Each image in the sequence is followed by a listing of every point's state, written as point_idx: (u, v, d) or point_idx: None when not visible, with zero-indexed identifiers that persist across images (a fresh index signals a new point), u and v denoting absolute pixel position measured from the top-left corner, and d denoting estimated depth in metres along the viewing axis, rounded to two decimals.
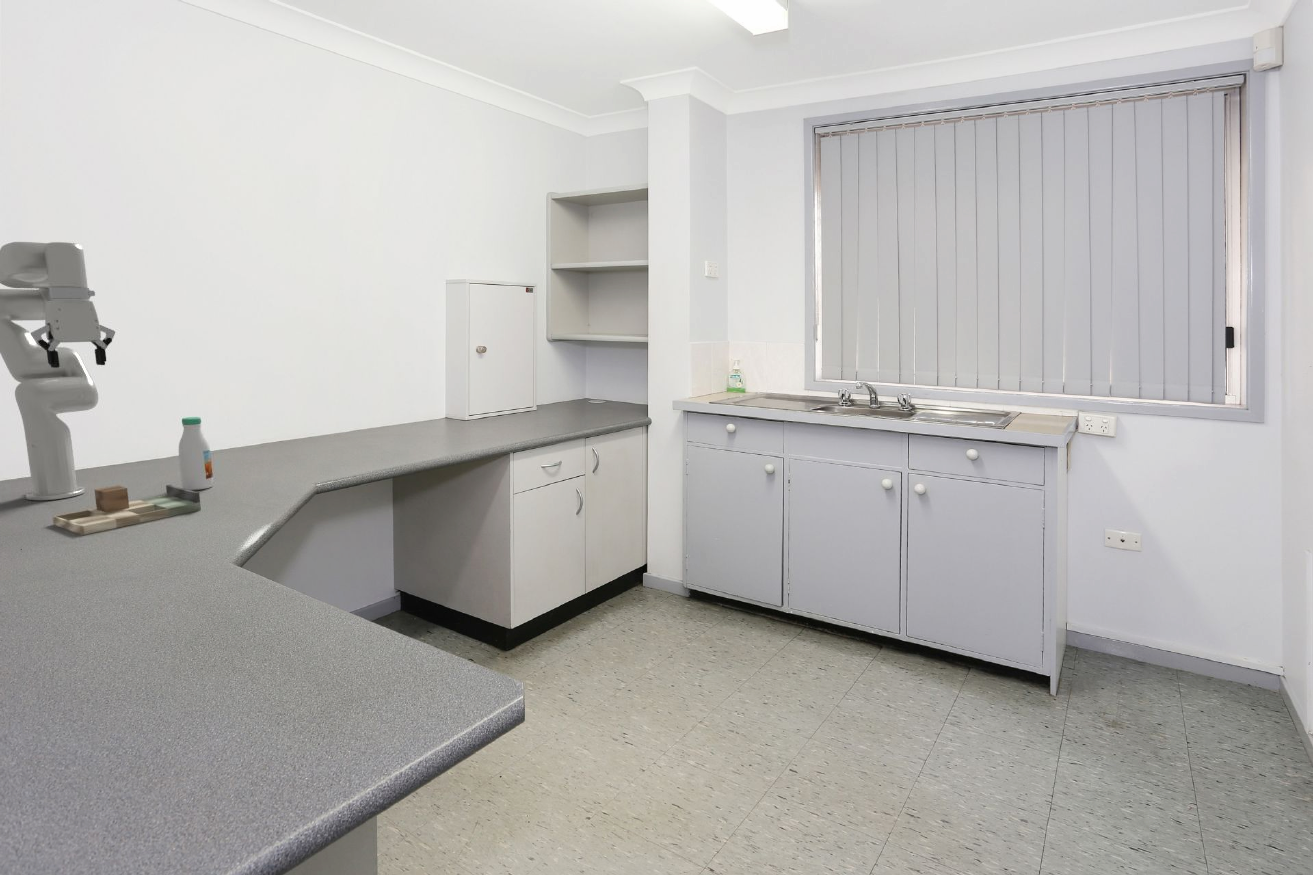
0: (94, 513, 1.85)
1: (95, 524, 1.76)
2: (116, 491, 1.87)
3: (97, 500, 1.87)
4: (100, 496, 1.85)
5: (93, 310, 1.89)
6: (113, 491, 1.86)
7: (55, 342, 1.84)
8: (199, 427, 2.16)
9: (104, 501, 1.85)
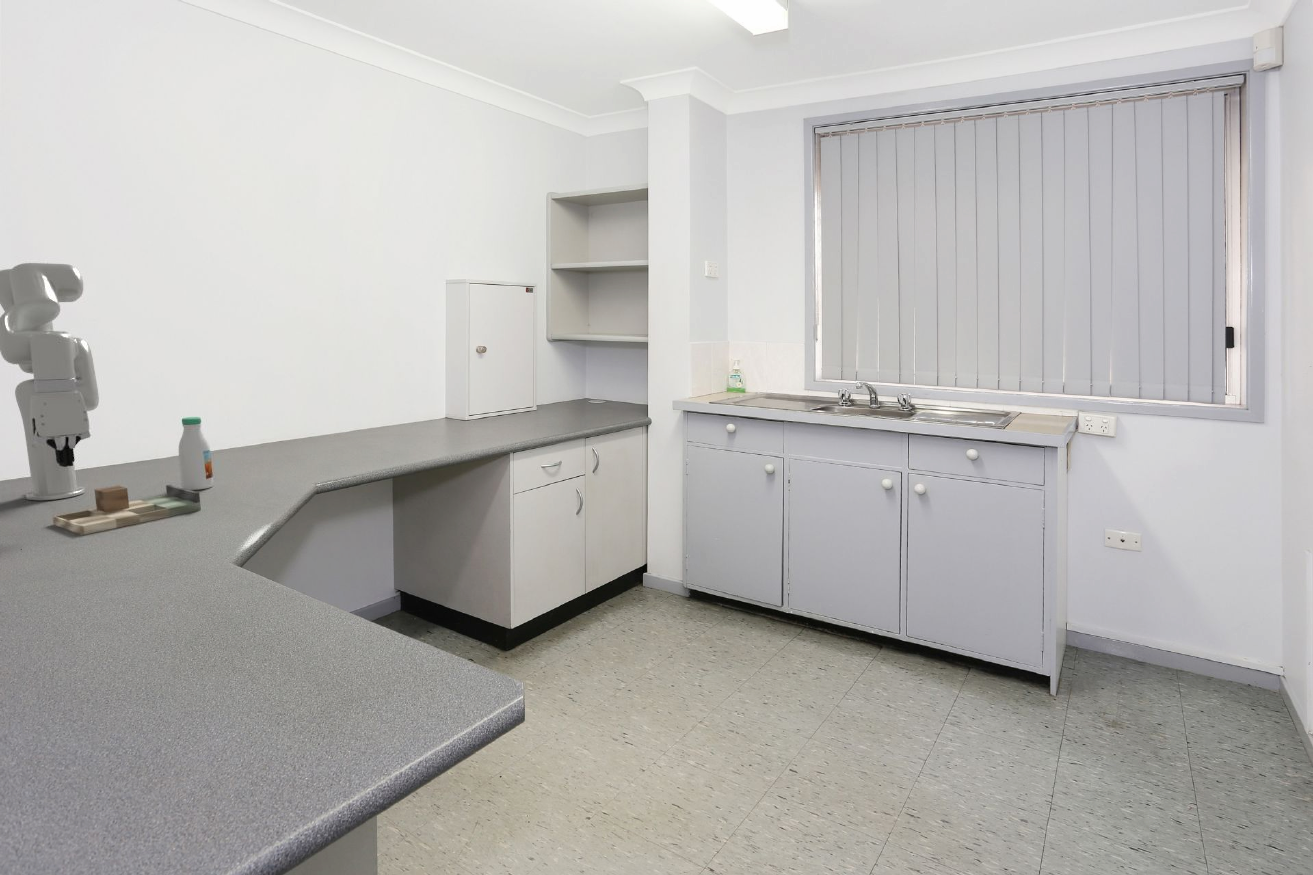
0: (94, 513, 1.85)
1: (95, 524, 1.76)
2: (116, 491, 1.87)
3: (97, 500, 1.87)
4: (100, 496, 1.85)
5: (81, 401, 1.79)
6: (113, 491, 1.86)
7: (57, 440, 1.76)
8: (199, 427, 2.16)
9: (104, 501, 1.85)
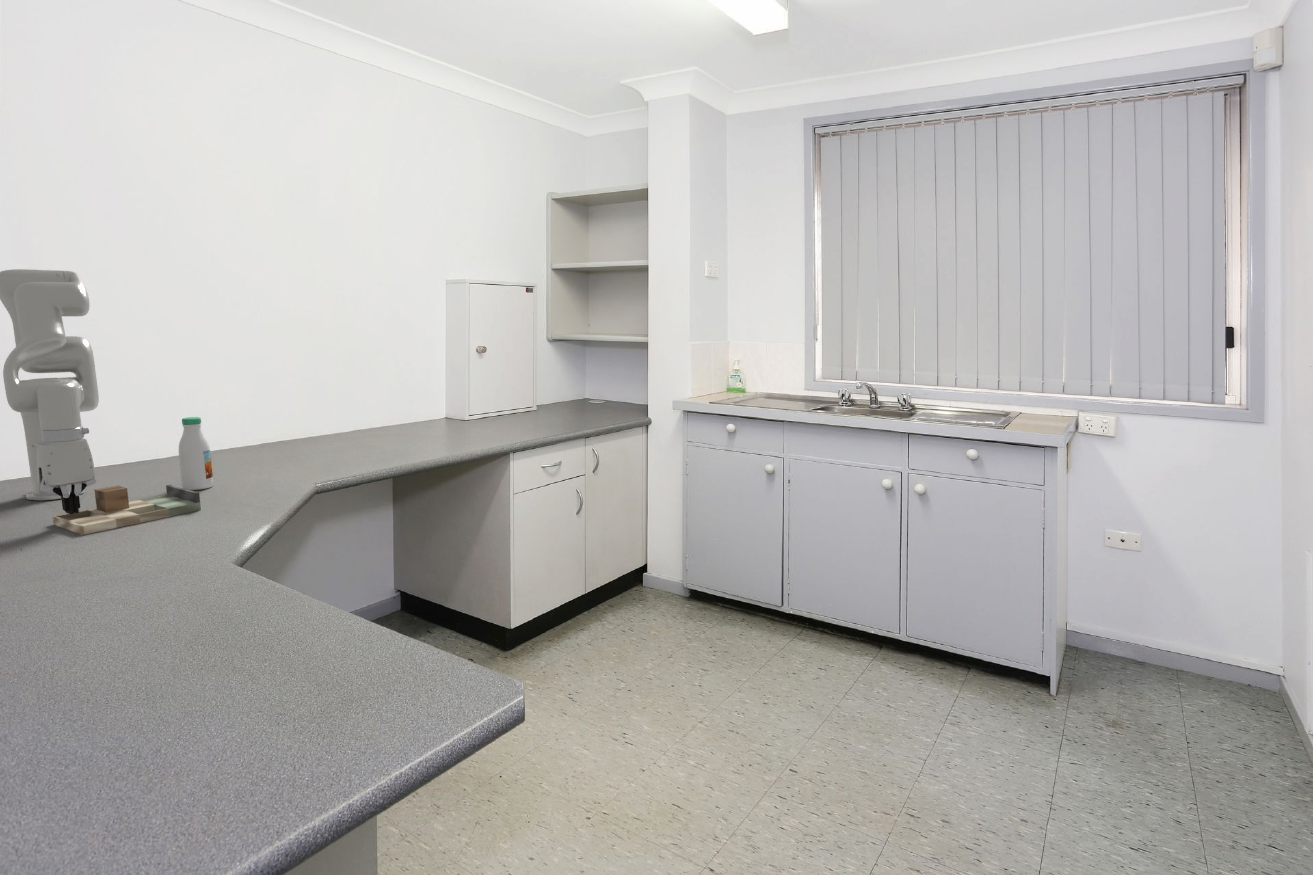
0: (94, 513, 1.85)
1: (95, 524, 1.76)
2: (116, 491, 1.87)
3: (97, 500, 1.87)
4: (100, 496, 1.85)
5: (87, 449, 1.81)
6: (113, 491, 1.86)
7: (63, 489, 1.78)
8: (199, 427, 2.16)
9: (104, 501, 1.85)
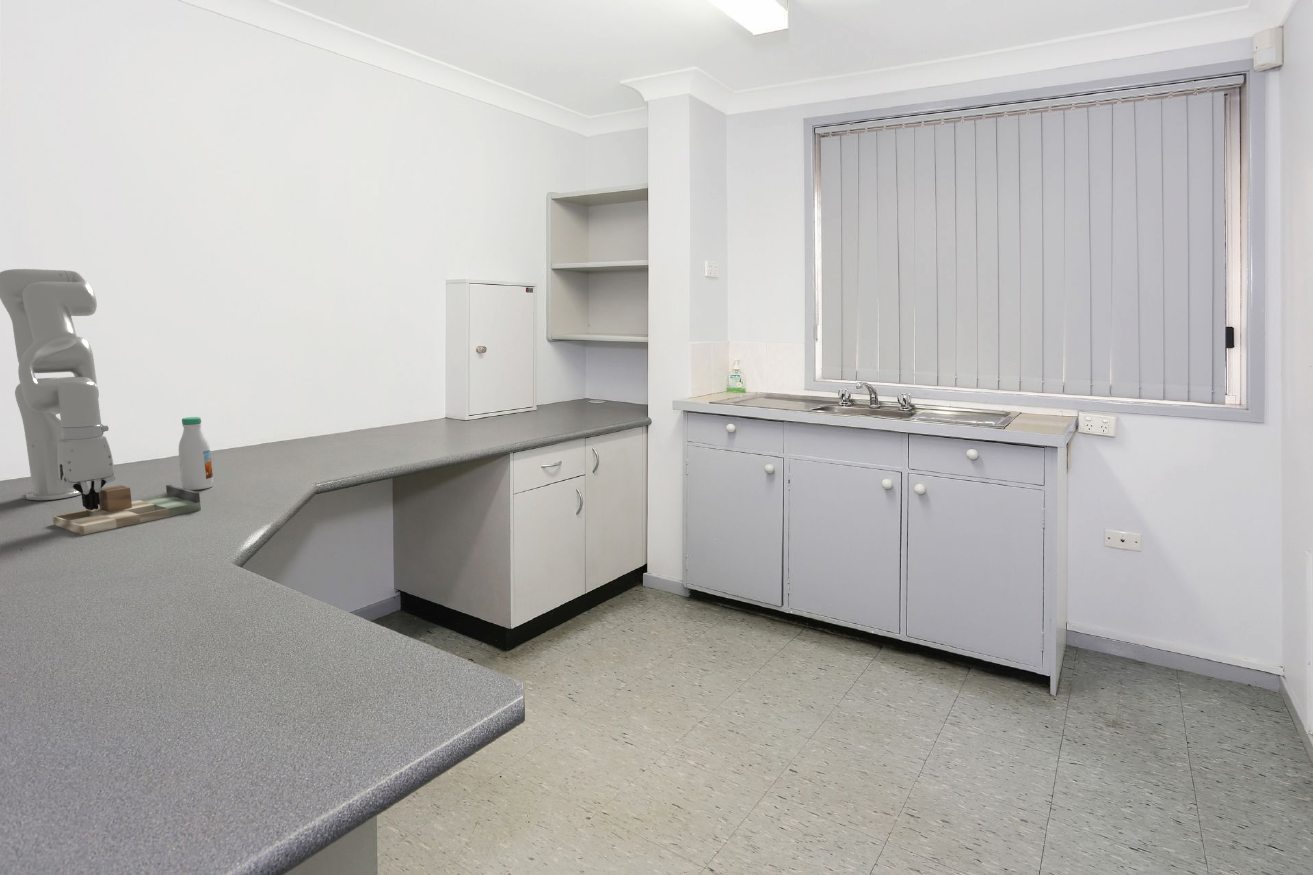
0: (94, 513, 1.85)
1: (95, 524, 1.76)
2: (119, 491, 1.87)
3: (100, 500, 1.87)
4: (103, 496, 1.86)
5: (106, 446, 1.84)
6: (116, 491, 1.86)
7: (83, 485, 1.81)
8: (199, 427, 2.16)
9: (107, 500, 1.85)
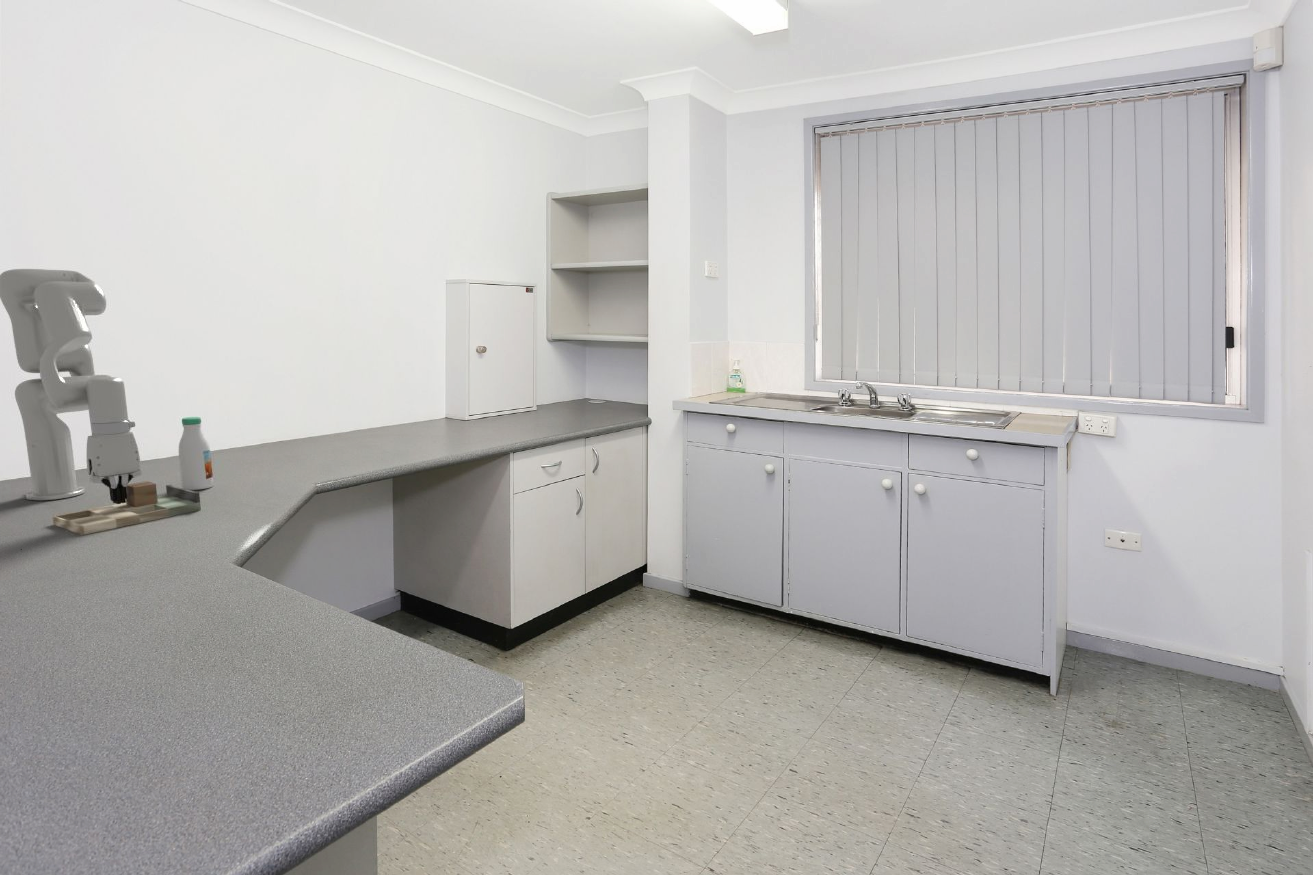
0: (94, 513, 1.85)
1: (95, 524, 1.76)
2: (145, 486, 1.91)
3: (127, 495, 1.92)
4: (130, 491, 1.90)
5: (133, 442, 1.89)
6: (142, 486, 1.91)
7: (111, 479, 1.86)
8: (199, 427, 2.16)
9: (134, 496, 1.90)
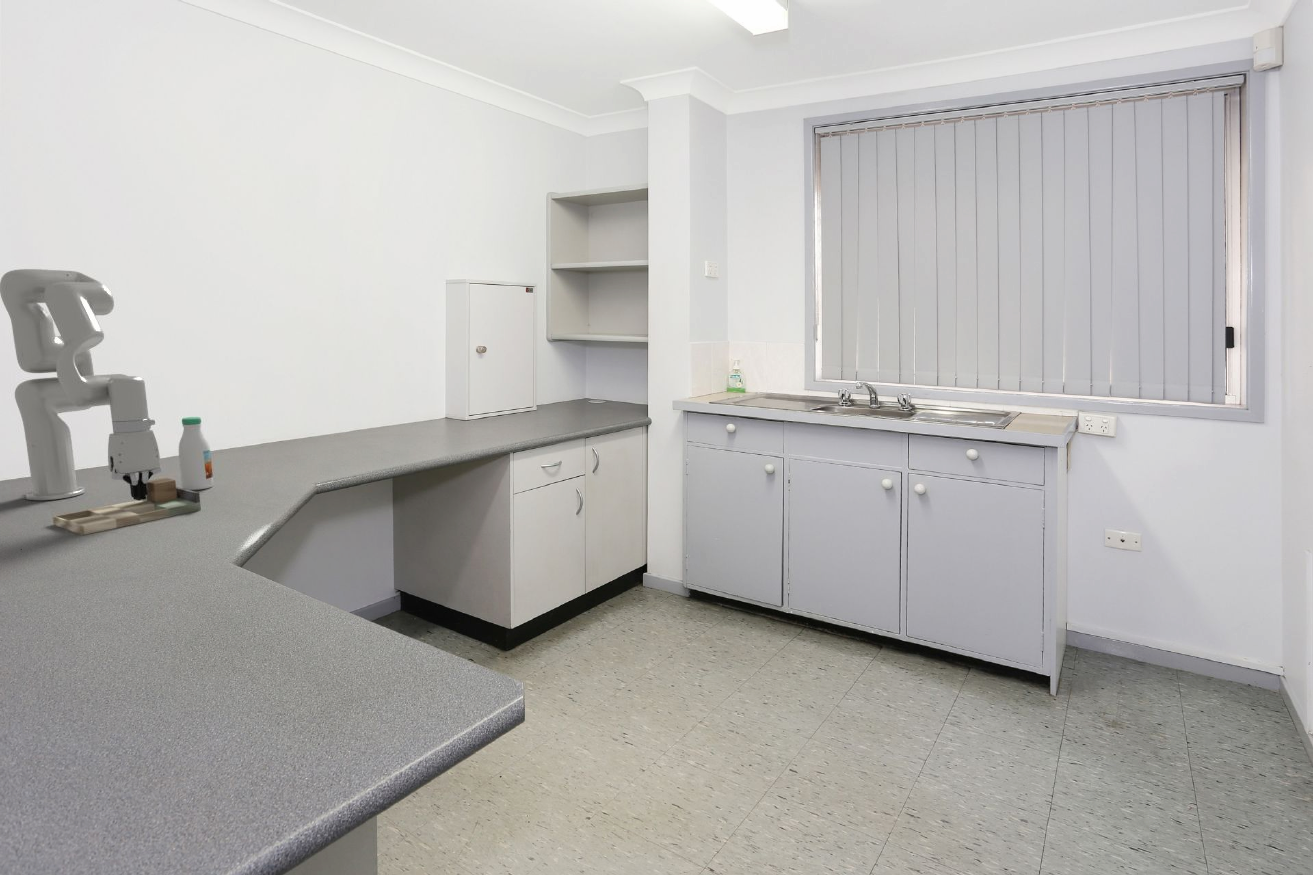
0: (94, 513, 1.85)
1: (95, 524, 1.76)
2: (165, 483, 1.95)
3: (147, 492, 1.95)
4: (151, 488, 1.94)
5: (153, 439, 1.93)
6: (162, 483, 1.95)
7: (132, 476, 1.90)
8: (199, 427, 2.16)
9: (154, 492, 1.93)
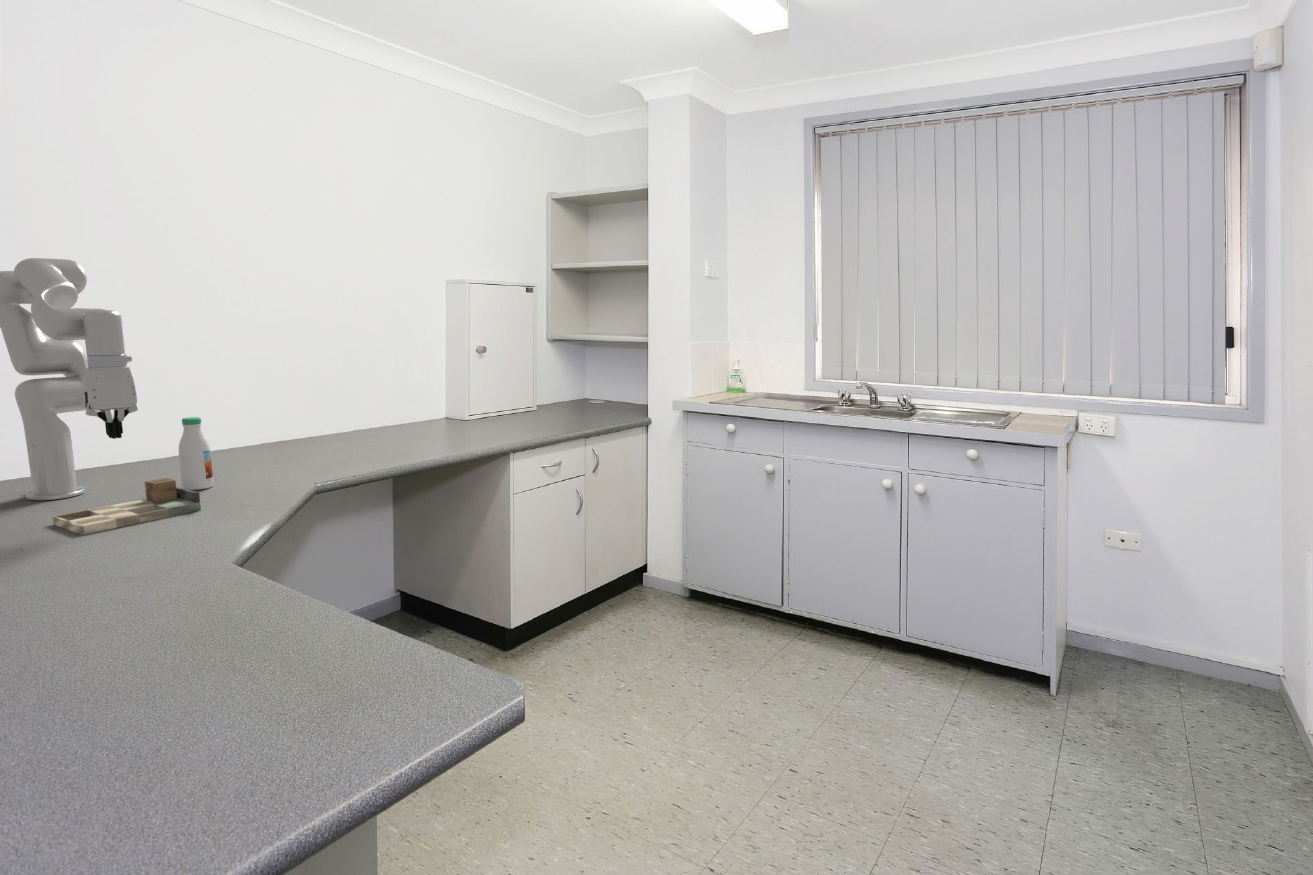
0: (94, 513, 1.85)
1: (95, 524, 1.76)
2: (165, 483, 1.95)
3: (147, 492, 1.95)
4: (151, 488, 1.94)
5: (130, 376, 1.87)
6: (162, 483, 1.95)
7: (107, 413, 1.85)
8: (199, 427, 2.16)
9: (154, 492, 1.93)
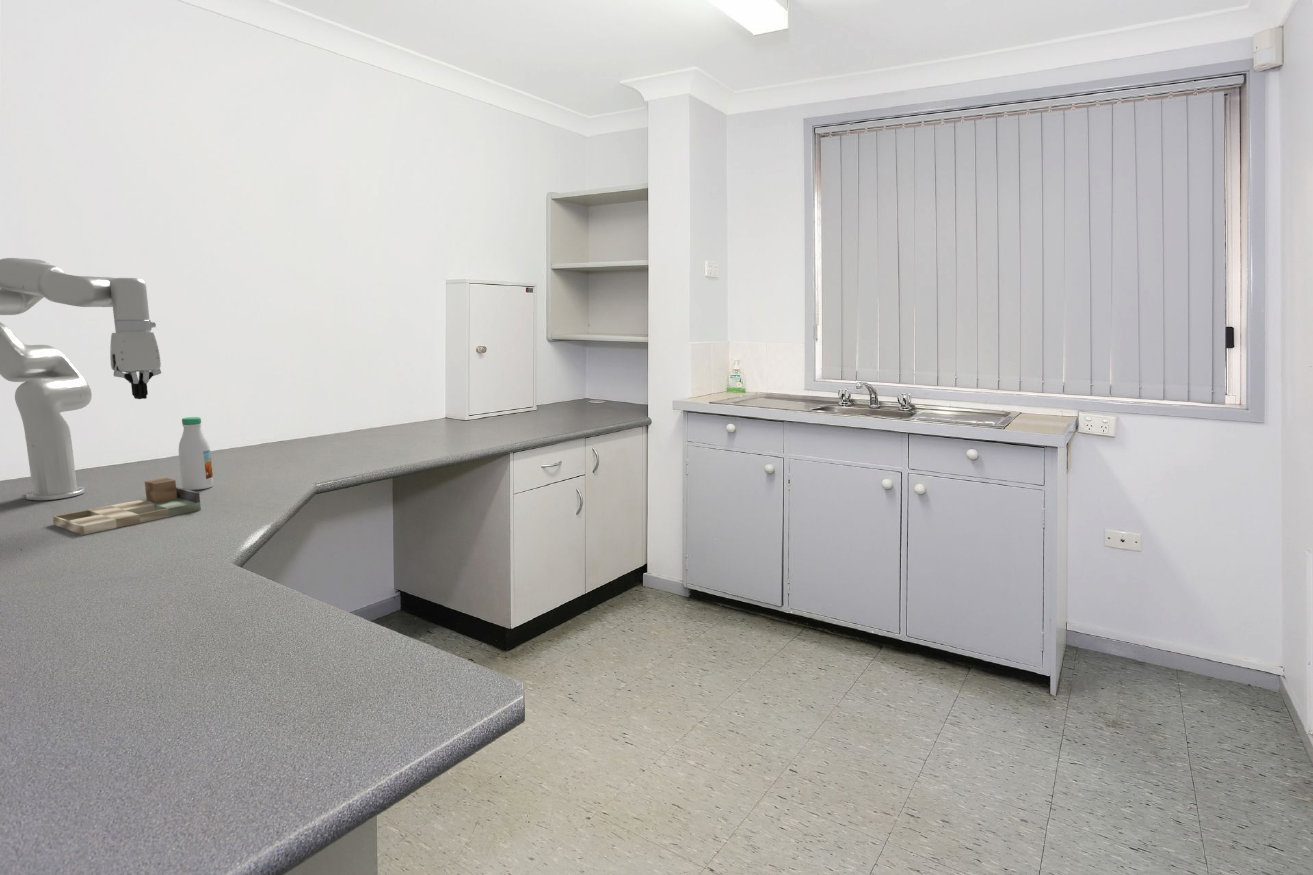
0: (94, 513, 1.85)
1: (95, 524, 1.76)
2: (165, 483, 1.95)
3: (147, 492, 1.95)
4: (151, 488, 1.94)
5: (154, 341, 2.00)
6: (162, 483, 1.95)
7: (133, 375, 1.97)
8: (199, 427, 2.16)
9: (154, 492, 1.93)
